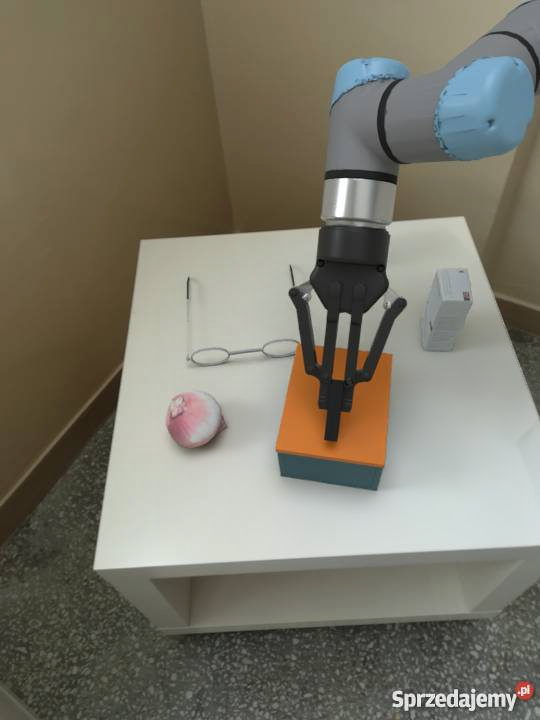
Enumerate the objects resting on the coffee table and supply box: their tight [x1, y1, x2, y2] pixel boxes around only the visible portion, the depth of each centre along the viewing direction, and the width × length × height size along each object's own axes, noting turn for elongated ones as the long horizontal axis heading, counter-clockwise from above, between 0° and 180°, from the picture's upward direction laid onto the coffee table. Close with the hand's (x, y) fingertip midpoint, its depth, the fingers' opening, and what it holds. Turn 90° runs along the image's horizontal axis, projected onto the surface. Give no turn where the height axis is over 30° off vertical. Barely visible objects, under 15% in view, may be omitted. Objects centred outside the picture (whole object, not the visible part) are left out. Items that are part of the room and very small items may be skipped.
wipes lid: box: [274, 342, 393, 469], centre depth 66 cm, size 16×13×1 cm
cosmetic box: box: [420, 267, 474, 352], centre depth 76 cm, size 6×4×12 cm
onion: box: [165, 389, 228, 449], centre depth 72 cm, size 8×8×7 cm
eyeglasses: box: [185, 264, 300, 367], centre depth 84 cm, size 18×19×4 cm
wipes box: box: [276, 452, 384, 492], centre depth 70 cm, size 16×13×8 cm
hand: (331, 436), depth 61 cm, fingers closed
